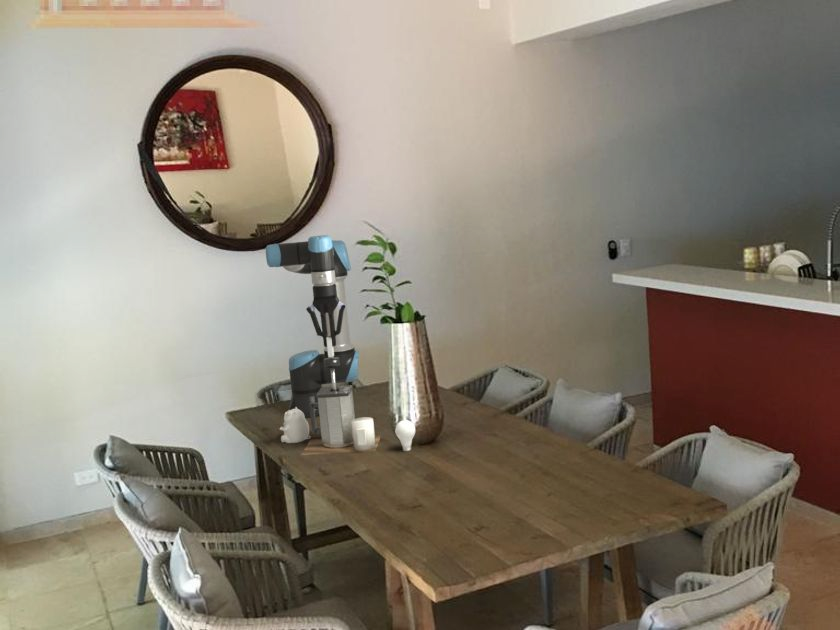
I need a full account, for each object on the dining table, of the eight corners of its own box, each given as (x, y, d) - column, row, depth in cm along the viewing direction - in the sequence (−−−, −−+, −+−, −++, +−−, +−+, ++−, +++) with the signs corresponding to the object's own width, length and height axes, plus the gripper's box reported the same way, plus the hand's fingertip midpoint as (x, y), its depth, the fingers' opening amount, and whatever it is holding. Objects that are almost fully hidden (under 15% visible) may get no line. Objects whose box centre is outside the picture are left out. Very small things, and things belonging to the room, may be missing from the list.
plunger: (326, 409, 289) (320, 356, 286) (351, 407, 288) (346, 355, 286) (321, 416, 281) (316, 362, 278) (347, 414, 280) (342, 360, 277)
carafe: (316, 439, 292) (311, 387, 289) (358, 437, 291) (353, 385, 288) (311, 449, 282) (305, 396, 279) (353, 447, 281) (348, 393, 278)
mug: (355, 444, 283) (352, 417, 282) (376, 443, 283) (374, 416, 282) (351, 453, 275) (349, 425, 274) (373, 451, 275) (371, 424, 273)
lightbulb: (393, 456, 273) (390, 422, 271) (403, 450, 278) (400, 417, 277) (411, 458, 270) (408, 423, 268) (421, 451, 275) (418, 418, 274)
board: (310, 444, 293) (310, 439, 293) (381, 439, 292) (380, 435, 291) (301, 459, 277) (301, 454, 277) (376, 455, 276) (375, 450, 276)
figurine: (314, 438, 300) (311, 404, 298) (308, 447, 290) (304, 412, 288) (286, 439, 301) (282, 405, 299) (279, 448, 291) (275, 413, 289)
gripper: (301, 287, 275) (309, 360, 278) (342, 284, 274) (349, 357, 278) (306, 284, 282) (313, 355, 286) (345, 281, 281) (352, 352, 285)
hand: (331, 356), depth 282 cm, fingers closed
